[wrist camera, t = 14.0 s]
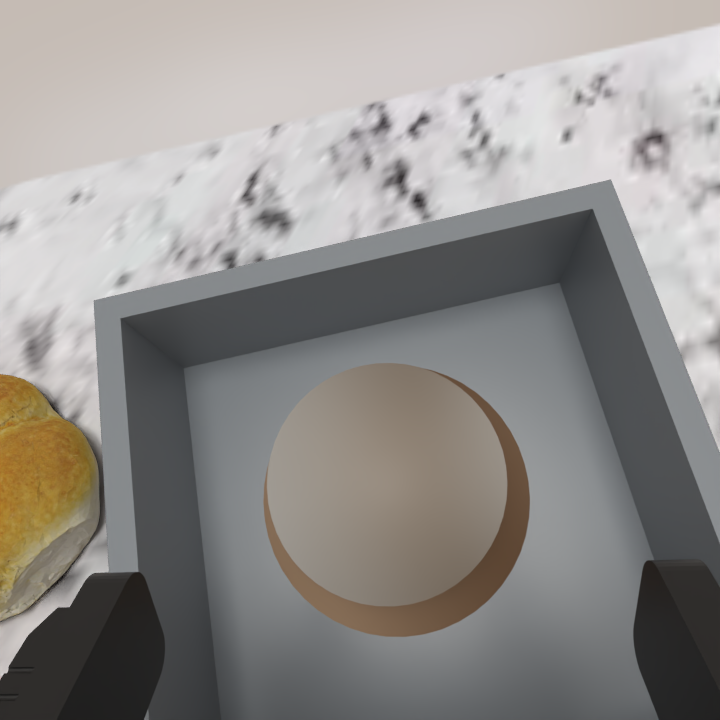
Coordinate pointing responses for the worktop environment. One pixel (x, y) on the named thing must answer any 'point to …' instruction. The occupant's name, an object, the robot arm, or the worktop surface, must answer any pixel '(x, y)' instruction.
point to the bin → (446, 356)
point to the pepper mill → (396, 499)
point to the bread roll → (40, 495)
